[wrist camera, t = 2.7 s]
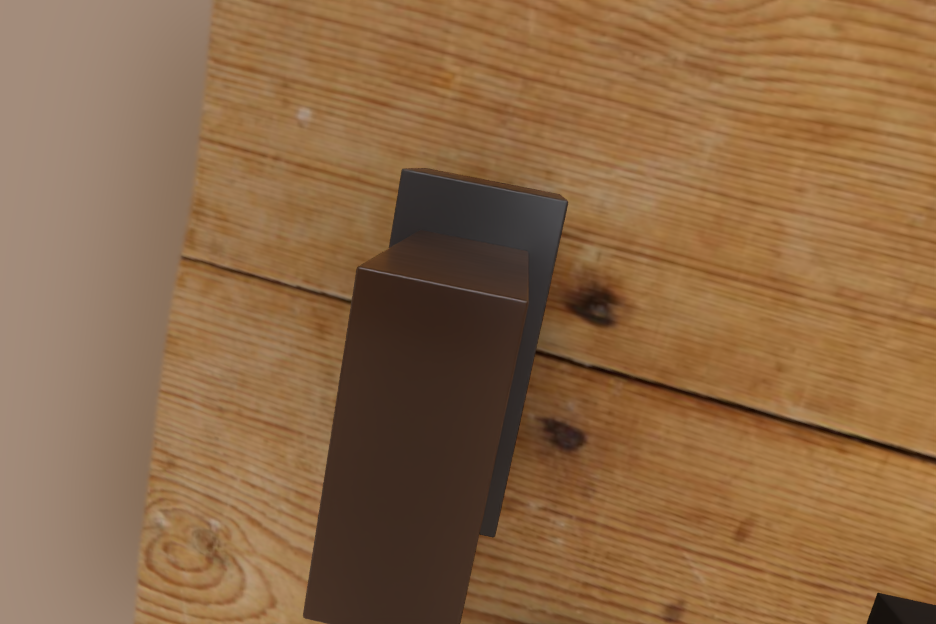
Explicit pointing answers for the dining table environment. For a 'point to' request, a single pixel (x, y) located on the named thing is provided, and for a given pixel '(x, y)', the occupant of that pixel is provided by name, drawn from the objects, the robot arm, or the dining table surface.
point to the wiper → (431, 398)
